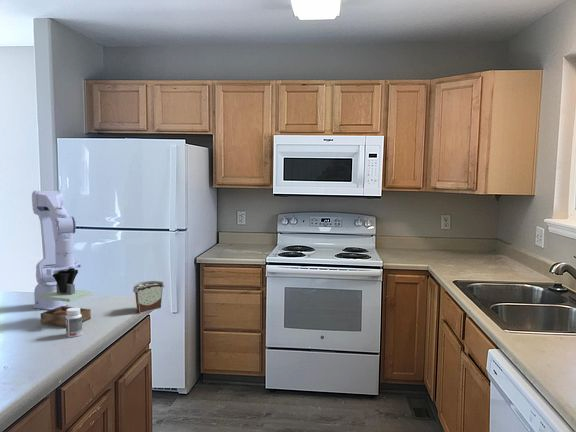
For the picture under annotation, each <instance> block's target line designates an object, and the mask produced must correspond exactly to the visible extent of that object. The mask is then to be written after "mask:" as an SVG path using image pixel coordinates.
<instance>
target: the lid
mask: <svg viewBox="0 0 576 432" xmlns="http://www.w3.org/2000/svg"><path fill="white" fill-rule="evenodd" d="M75 285H76V284H74V283H73V284H67V291H66V293H60V290H59V287H58V284H56V287H57V290H55V291H52V292H49V293H45V294H42V295H39V299H48V300H57V301H63V302H65V303H67V302H68V303H71V302H74V301H77V300H79V299H82V298H85V297H88V296H91V295H92V292H93V291H91V290H83V289H82V290H81V289H76V286H75Z"/></svg>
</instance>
